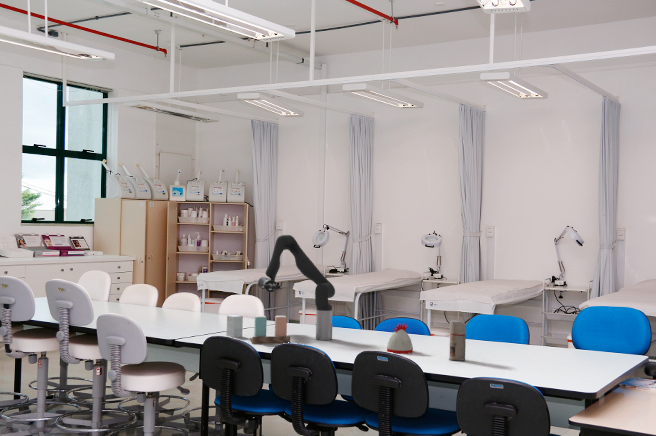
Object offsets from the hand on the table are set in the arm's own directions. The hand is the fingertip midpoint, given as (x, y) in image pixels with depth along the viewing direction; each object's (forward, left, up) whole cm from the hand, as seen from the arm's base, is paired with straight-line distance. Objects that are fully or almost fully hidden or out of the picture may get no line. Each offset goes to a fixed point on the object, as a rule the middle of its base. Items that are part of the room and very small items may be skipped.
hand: (274, 287), depth 386 cm
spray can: (-83, +75, -30) cm, 116 cm away
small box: (+22, -6, -30) cm, 38 cm away
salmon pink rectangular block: (-2, +17, -29) cm, 34 cm away
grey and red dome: (-62, +48, -30) cm, 84 cm away
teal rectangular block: (+10, +17, -29) cm, 35 cm away
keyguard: (+4, +15, -30) cm, 34 cm away
